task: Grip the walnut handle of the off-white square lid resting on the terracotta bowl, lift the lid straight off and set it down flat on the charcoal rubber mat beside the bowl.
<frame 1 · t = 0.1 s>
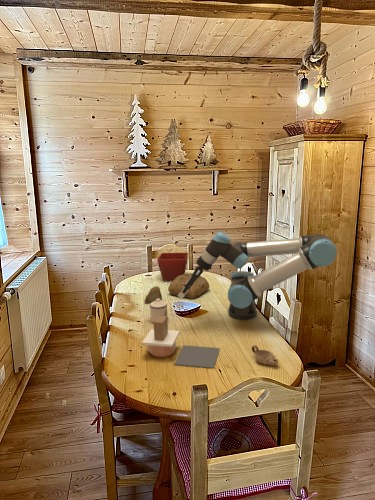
hand: (182, 292, 187), 15 cm above the table, tool tilted 35°, fingers open, 13 cm apart
rock: (153, 302, 219), on the table
bread: (189, 292, 233), on the table
oil lamp: (263, 361, 149), on the table
plant pot: (174, 279, 261), on the table
bowl: (162, 351, 160), on the table
teacup with lid: (159, 319, 193), on the table
lid: (161, 338, 158), point 6 cm above the table, touching bowl
mat: (197, 356, 154), on the table
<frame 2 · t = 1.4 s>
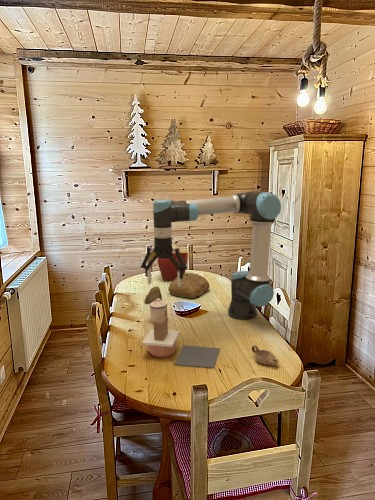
hand: (164, 284, 162), 27 cm above the table, tool pointing down, fingers open, 13 cm apart
nothing on the table moved.
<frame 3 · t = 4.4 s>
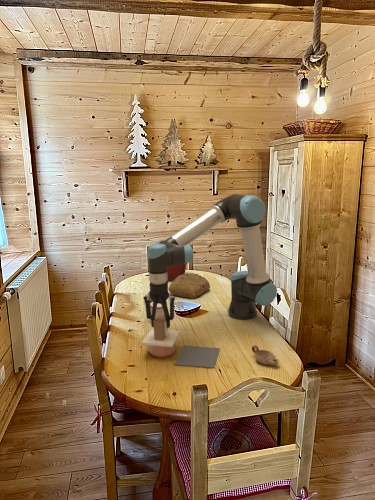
hand: (161, 334, 158), 8 cm above the table, tool pointing down, fingers closed on lid, 4 cm apart
lid: (161, 338, 158), point 6 cm above the table, touching bowl, gripper
everything else where it was.
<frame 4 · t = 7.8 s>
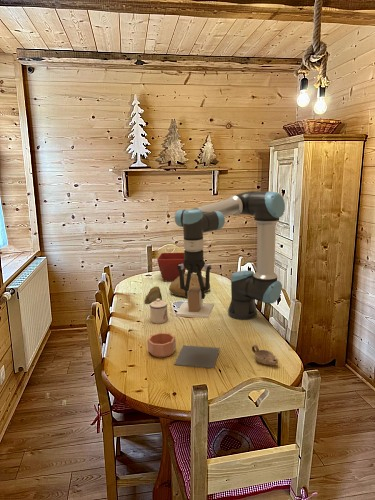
hand: (195, 305, 149), 23 cm above the table, tool pointing down, fingers closed on lid, 4 cm apart
lid: (195, 310, 150), point 20 cm above the table, touching gripper
everything else where it was.
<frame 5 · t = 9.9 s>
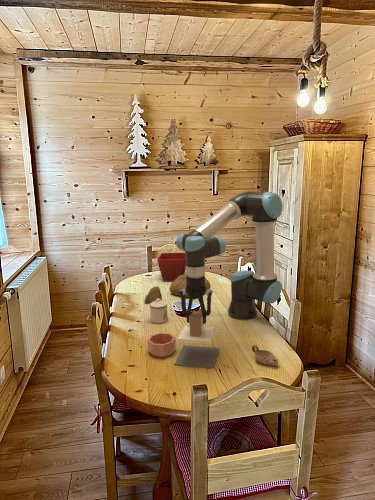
hand: (196, 330, 152), 12 cm above the table, tool pointing down, fingers closed on lid, 4 cm apart
lid: (196, 335, 152), point 10 cm above the table, touching gripper
everything else where it was.
when the fingers open (5 cm above the table, at t = 11.6 s): lid drops 2 cm, resting on mat.
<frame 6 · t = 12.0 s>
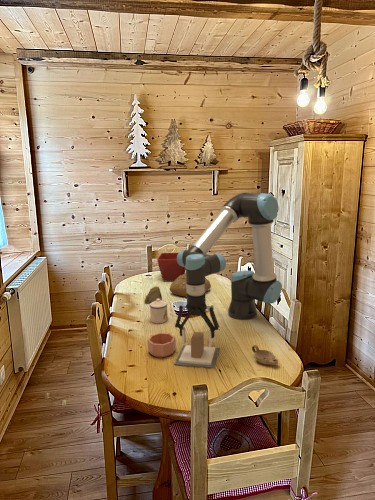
hand: (197, 343, 153), 6 cm above the table, tool pointing down, fingers open, 10 cm apart
lid: (197, 355, 154), resting on mat
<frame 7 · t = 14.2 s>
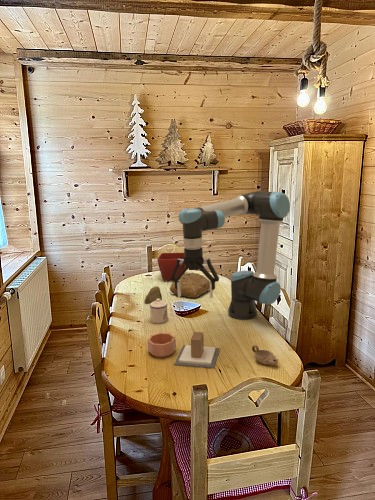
hand: (195, 296, 155), 24 cm above the table, tool pointing down, fingers open, 13 cm apart
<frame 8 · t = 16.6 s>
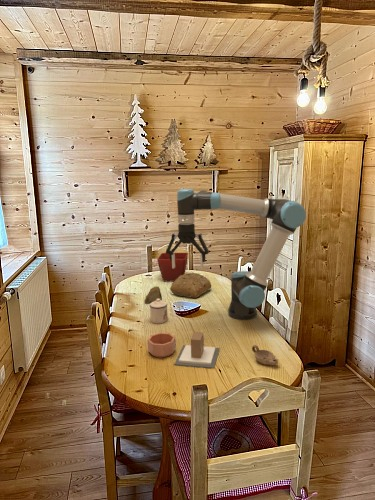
hand: (187, 268, 174), 31 cm above the table, tool pointing down, fingers open, 13 cm apart
at the end: lid inside the target area on the mat (0.0 cm from its centre), point 0.5 cm above the mat's base; lid tilted 0°; lid touching mat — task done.
